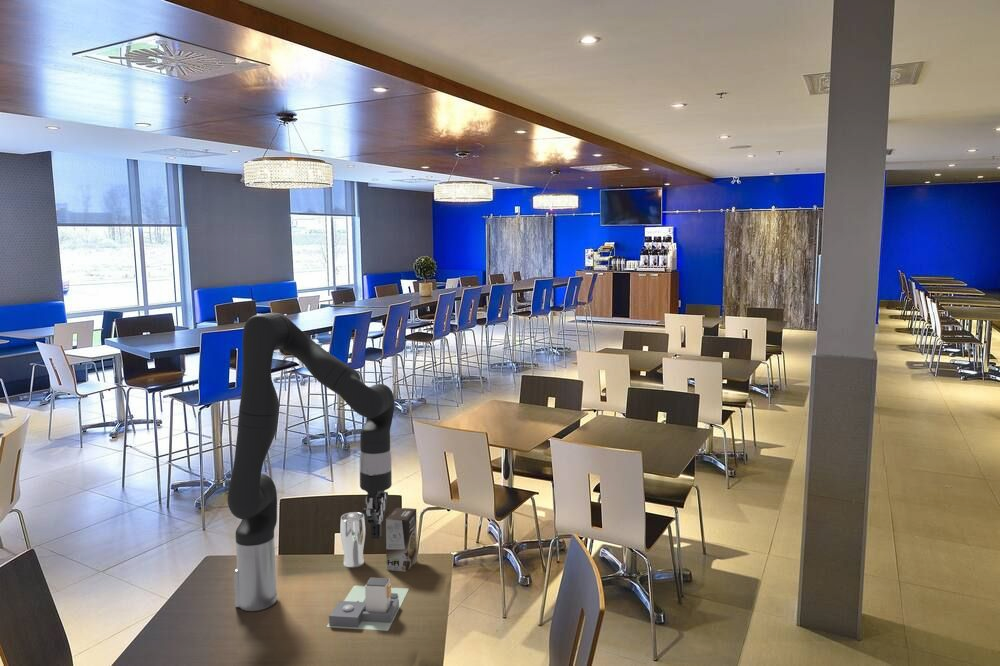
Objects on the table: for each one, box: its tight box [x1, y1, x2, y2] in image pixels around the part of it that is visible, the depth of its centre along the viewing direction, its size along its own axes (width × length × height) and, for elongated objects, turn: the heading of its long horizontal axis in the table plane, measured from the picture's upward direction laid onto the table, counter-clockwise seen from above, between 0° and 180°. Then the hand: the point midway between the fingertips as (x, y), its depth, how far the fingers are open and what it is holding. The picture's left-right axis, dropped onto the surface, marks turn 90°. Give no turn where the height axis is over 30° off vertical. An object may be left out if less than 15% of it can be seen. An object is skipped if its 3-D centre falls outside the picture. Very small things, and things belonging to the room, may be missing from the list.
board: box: [326, 585, 410, 632], centre depth 166 cm, size 15×20×3 cm
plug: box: [364, 577, 392, 613], centre depth 163 cm, size 6×4×8 cm
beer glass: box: [339, 511, 366, 568], centre depth 190 cm, size 7×7×15 cm
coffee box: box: [385, 507, 418, 573], centre depth 189 cm, size 9×6×16 cm
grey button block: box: [328, 600, 366, 628], centre depth 163 cm, size 7×11×3 cm, turn 174°
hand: (376, 537), depth 161 cm, fingers closed
